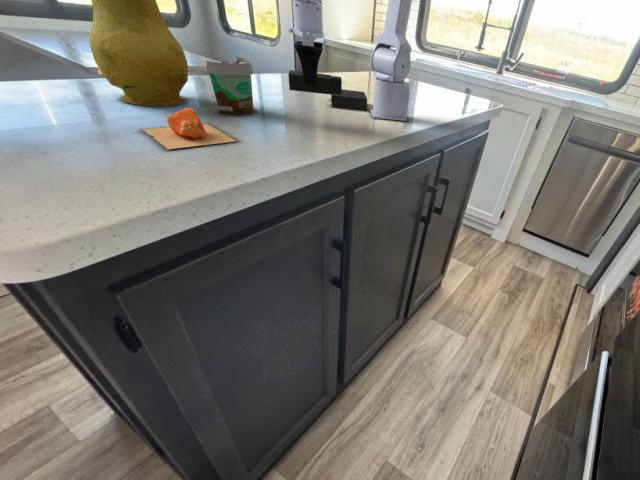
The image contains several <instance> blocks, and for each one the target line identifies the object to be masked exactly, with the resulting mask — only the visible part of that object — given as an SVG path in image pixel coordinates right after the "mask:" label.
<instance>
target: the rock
mask: <svg viewBox="0 0 640 480" xmlns="http://www.w3.org/2000/svg"><path fill="white" fill-rule="evenodd" d="M166 120H167V123H168V126H166V127H154V128H142V129H141V130H142V131H143V132H144V133H146V134H147V135H149V136H150V137H152V139H154V140H155V141H156V142H157V143H159V144H160V145H162V146H163V147H165V149H167V150H174V149H175V150H177V149H184V148H190V147H191V148H192V147H200V146H208V145H217V144H226V143H232V142H236V140H235V139H233V138H232V137H231V136H229V135H227V134H225V133H223V131H220V130H218V129H217V128H215V127H214V126H212V125H211V124H208V123H202V121H201V118H200V117H199V115H198V114H197V112H196V111H195V109H194V108H192V107H184V108H183V109H180V110H179V111H175V112H171V113H170V114H168V116H167V119H166Z"/></svg>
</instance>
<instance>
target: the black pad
mask: <svg viewBox="0 0 640 480" xmlns="http://www.w3.org/2000/svg"><path fill="white" fill-rule="evenodd" d="M287 75H288V87H289V91H294V92H302V93H303V92H304V93H312V94H321V95H322V94H323V95H330V96H331V94H339V95H342V89H343V88H342V85H343V79H342V76H336V75H331V74H325V73H318V72H317V79H316V85H315V86H310V85H306V84H305V81H304V76H303V71H300V70H293V69H292V70H291V69H290V70H289V71H288V74H287Z"/></svg>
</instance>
